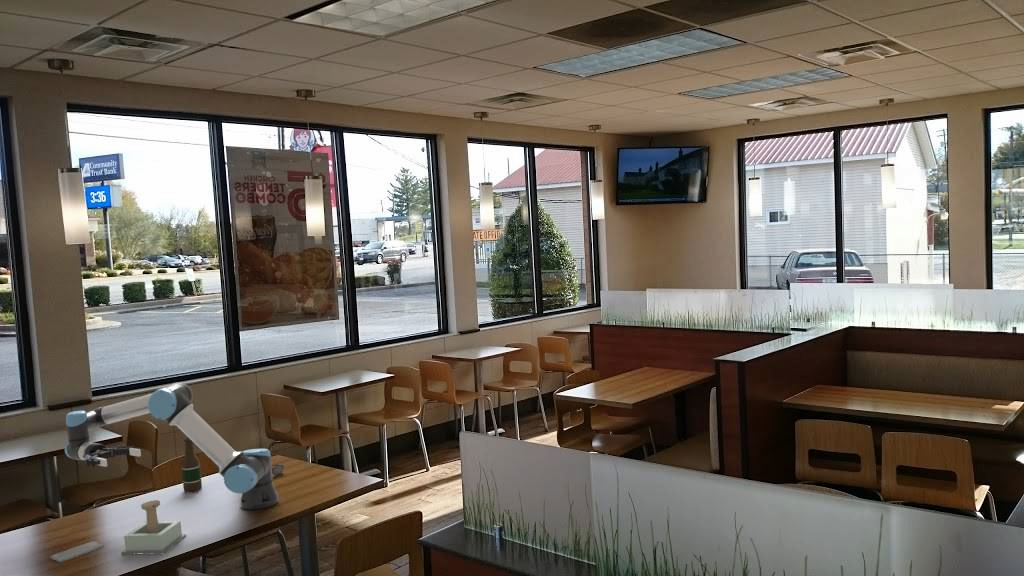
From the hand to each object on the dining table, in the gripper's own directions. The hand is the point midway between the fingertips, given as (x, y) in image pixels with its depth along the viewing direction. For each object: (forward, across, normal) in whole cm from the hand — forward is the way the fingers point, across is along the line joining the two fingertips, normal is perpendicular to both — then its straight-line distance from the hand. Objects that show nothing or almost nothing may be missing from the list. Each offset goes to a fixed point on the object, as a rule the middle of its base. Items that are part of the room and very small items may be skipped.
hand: (123, 457), depth 308 cm
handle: (+19, +3, -30) cm, 35 cm away
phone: (-2, +20, -31) cm, 37 cm away
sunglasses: (-14, -74, -31) cm, 81 cm away
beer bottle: (-26, -45, -30) cm, 60 cm away
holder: (+19, +3, -30) cm, 36 cm away
